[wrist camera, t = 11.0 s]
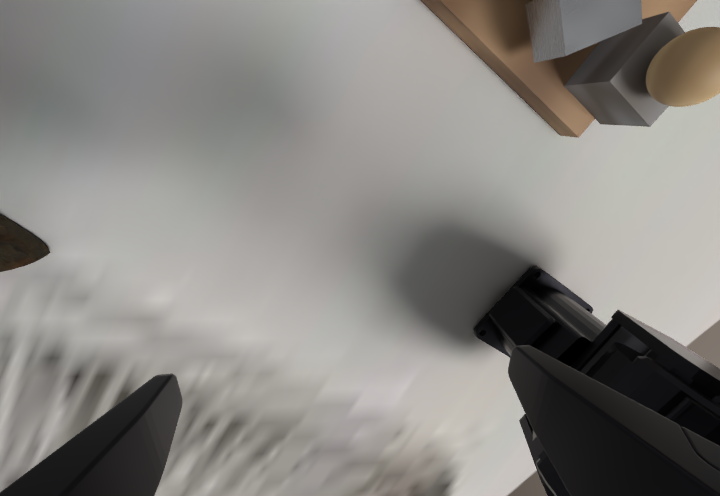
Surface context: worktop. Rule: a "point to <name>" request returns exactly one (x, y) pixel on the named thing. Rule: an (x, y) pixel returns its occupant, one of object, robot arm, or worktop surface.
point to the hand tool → (18, 246)
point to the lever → (577, 24)
